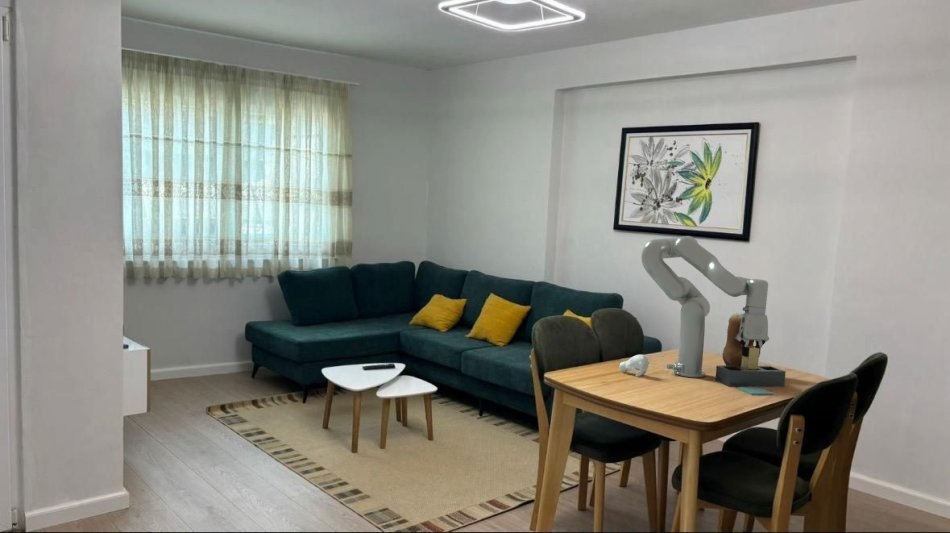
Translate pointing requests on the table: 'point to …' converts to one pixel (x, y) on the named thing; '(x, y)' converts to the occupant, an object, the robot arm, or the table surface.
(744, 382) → the graphite rack rail
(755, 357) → the tan rectangular block
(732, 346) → the butternut squash
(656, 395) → the table surface
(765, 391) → the teal rubber mat
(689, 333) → the robot arm
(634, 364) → the white animal figurine
